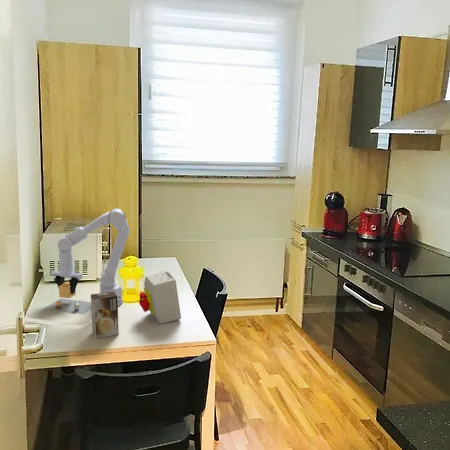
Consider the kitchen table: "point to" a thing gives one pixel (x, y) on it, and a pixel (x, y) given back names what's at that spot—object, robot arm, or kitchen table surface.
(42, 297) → the kitchen table surface
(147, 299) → the electrical switch box
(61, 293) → the light orange block
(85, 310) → the terminal board
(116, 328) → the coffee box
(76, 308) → the pigtail posts
